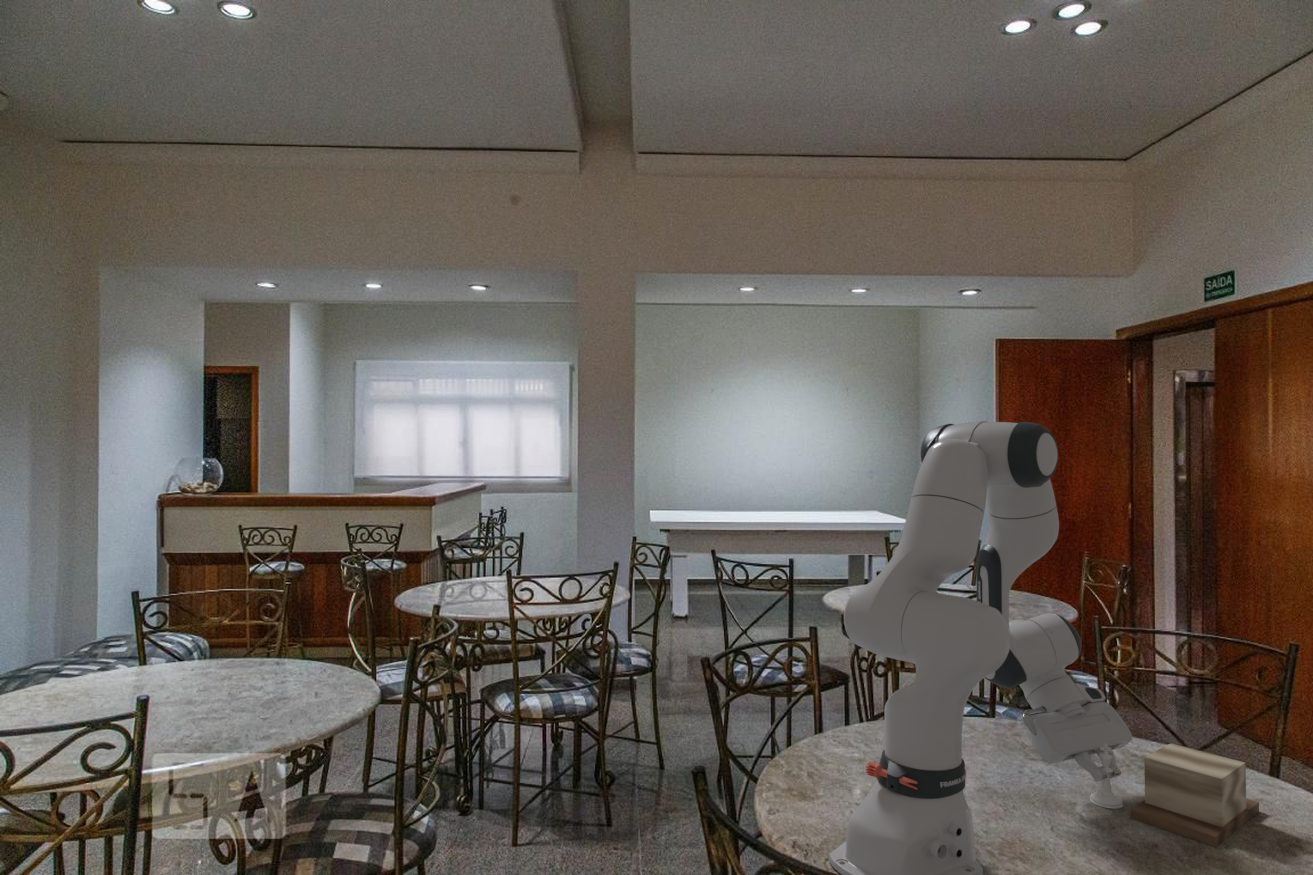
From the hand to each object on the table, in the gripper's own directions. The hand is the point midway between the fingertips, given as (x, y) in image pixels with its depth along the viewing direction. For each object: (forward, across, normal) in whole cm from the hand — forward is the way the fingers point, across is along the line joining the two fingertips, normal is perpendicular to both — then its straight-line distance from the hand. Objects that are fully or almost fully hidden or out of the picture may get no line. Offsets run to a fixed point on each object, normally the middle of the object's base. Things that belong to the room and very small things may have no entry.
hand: (1109, 777), depth 134 cm
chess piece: (+3, 0, +4) cm, 5 cm away
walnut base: (+9, +9, -3) cm, 13 cm away
